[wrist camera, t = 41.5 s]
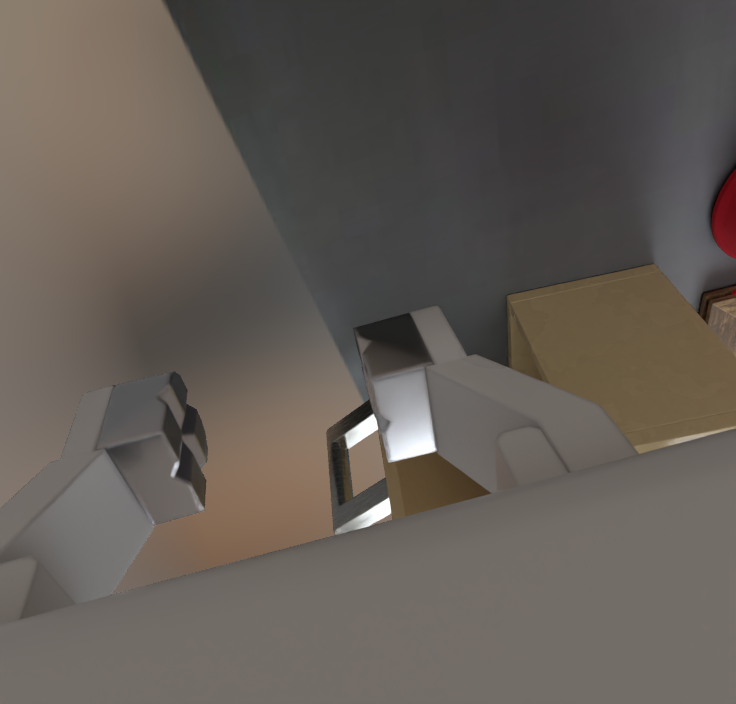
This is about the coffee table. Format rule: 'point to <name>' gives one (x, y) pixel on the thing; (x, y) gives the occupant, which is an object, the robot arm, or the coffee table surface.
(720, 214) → the alarm clock
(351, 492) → the cabinet door
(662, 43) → the coffee table surface
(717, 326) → the picture frame
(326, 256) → the coffee table surface
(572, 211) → the coffee table surface
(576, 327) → the beige rectangular box
